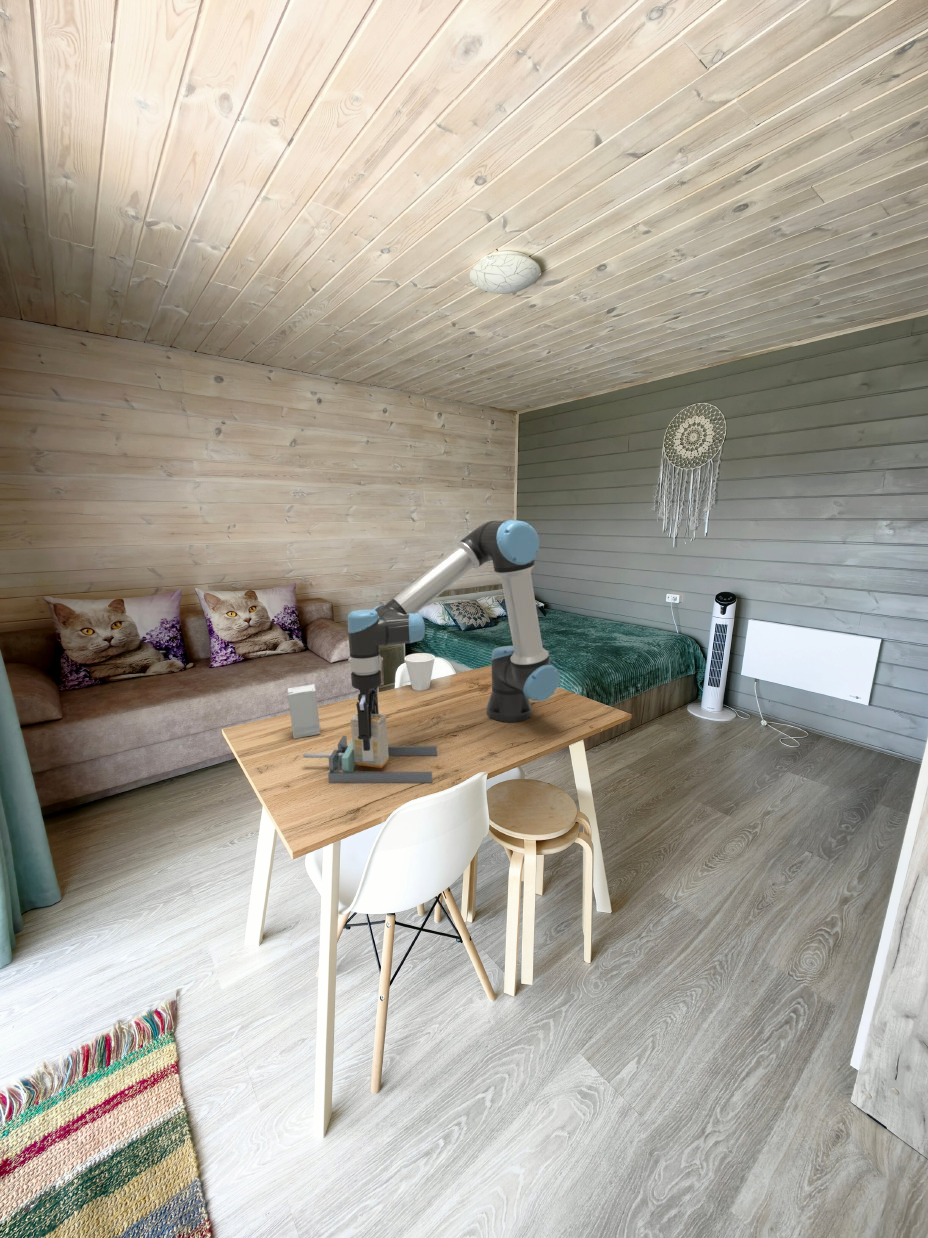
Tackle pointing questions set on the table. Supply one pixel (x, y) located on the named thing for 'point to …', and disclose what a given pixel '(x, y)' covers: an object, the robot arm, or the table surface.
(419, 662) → the cup
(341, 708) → the table surface
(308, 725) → the skincare box
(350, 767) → the pusher
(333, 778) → the lane
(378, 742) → the supplement box
